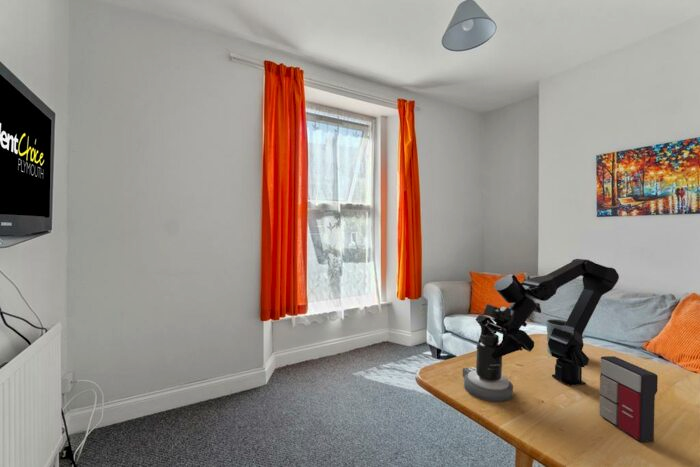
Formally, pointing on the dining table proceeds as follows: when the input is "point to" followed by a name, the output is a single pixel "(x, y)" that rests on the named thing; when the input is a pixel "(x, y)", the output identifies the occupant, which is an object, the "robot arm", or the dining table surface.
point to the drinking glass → (551, 325)
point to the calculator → (628, 397)
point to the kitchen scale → (487, 386)
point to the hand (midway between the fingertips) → (485, 353)
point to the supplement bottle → (488, 358)
